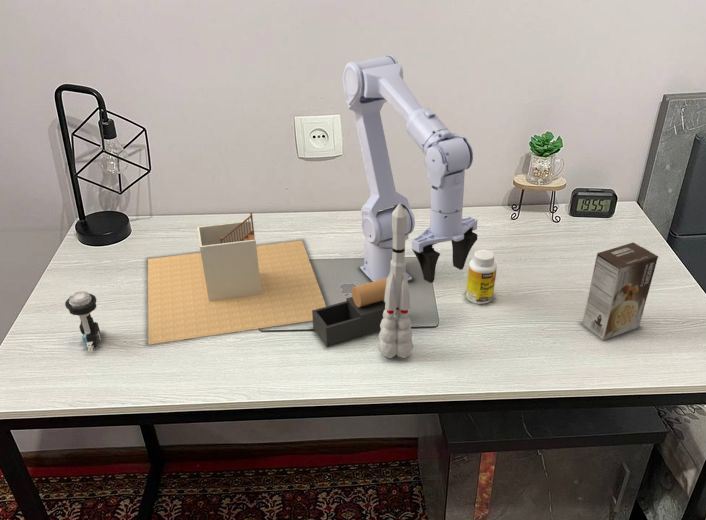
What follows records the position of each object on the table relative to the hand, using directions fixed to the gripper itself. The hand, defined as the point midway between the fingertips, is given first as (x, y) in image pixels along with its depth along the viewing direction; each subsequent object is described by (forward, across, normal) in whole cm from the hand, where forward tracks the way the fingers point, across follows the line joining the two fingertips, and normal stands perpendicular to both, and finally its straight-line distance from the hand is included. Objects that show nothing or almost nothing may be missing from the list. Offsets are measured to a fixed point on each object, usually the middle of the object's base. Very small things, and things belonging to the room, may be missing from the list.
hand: (443, 274), depth 132 cm
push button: (+9, -57, +35) cm, 68 cm away
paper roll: (+3, -11, +7) cm, 14 cm away
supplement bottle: (+10, +12, +1) cm, 16 cm away
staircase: (+9, -26, +36) cm, 46 cm away
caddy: (+10, -16, +9) cm, 21 cm away
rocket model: (+11, -14, -2) cm, 18 cm away
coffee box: (+11, +24, -22) cm, 35 cm away
